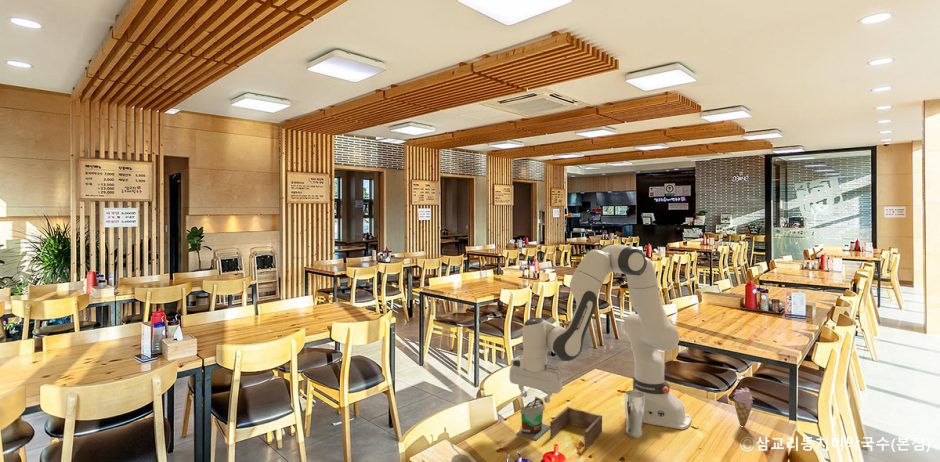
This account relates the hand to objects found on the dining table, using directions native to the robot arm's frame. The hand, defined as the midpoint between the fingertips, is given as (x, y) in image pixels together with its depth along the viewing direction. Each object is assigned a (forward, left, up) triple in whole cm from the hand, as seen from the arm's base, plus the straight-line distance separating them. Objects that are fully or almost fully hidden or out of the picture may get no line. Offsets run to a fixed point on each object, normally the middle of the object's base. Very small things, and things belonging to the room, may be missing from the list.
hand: (535, 399), depth 169 cm
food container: (0, +1, -12) cm, 12 cm away
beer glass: (-31, -19, -12) cm, 38 cm away
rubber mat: (0, 0, -12) cm, 12 cm away
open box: (-14, -6, -12) cm, 19 cm away
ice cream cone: (-63, -48, -12) cm, 80 cm away
